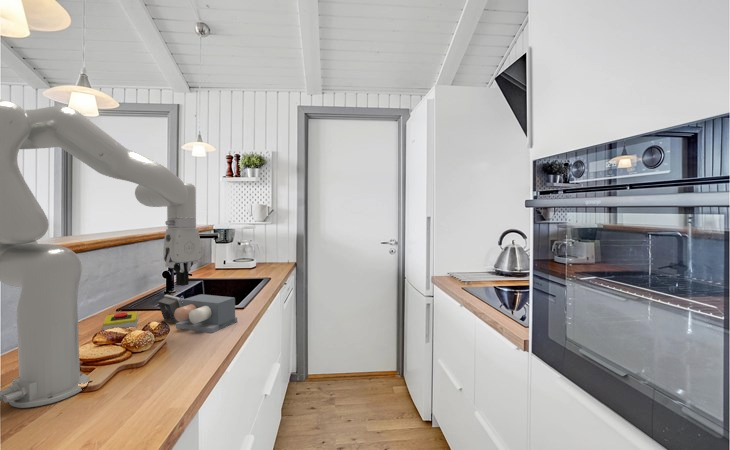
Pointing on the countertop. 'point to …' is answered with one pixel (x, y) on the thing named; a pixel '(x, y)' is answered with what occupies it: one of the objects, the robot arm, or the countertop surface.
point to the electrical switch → (169, 307)
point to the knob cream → (200, 314)
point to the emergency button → (121, 320)
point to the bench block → (220, 313)
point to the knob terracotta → (183, 312)
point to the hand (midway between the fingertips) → (182, 284)
